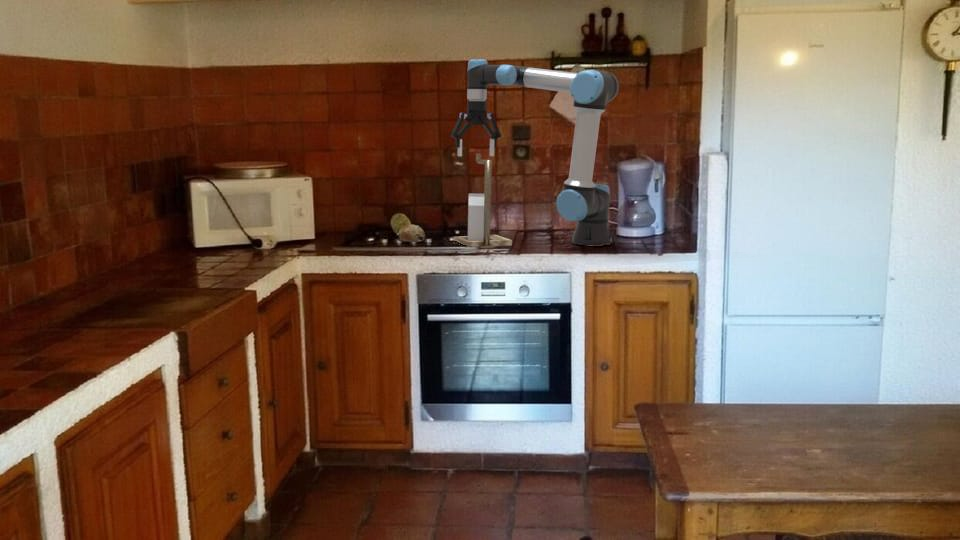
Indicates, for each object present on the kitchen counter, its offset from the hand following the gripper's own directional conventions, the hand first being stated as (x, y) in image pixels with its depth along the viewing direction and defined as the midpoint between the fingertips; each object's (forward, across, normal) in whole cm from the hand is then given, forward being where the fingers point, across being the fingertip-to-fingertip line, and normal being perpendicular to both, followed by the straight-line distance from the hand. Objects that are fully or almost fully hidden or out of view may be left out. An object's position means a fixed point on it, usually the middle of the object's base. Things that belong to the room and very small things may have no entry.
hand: (475, 156), depth 359 cm
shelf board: (+32, +4, +17) cm, 36 cm away
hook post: (+32, +6, +21) cm, 39 cm away
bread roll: (+32, +27, +1) cm, 42 cm away
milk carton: (+32, +6, +17) cm, 37 cm away
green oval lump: (+32, +26, -14) cm, 43 cm away
